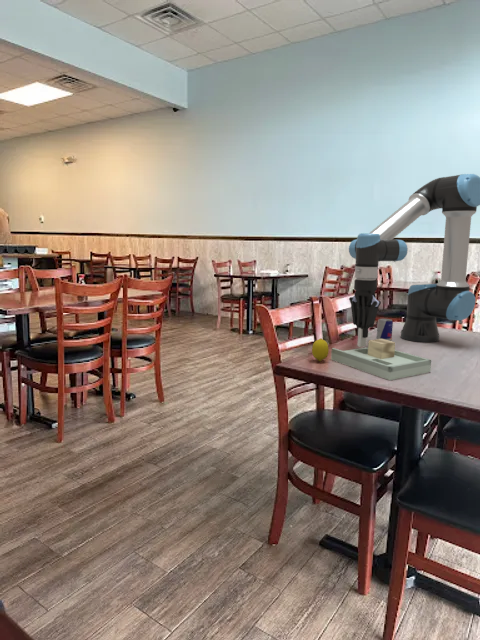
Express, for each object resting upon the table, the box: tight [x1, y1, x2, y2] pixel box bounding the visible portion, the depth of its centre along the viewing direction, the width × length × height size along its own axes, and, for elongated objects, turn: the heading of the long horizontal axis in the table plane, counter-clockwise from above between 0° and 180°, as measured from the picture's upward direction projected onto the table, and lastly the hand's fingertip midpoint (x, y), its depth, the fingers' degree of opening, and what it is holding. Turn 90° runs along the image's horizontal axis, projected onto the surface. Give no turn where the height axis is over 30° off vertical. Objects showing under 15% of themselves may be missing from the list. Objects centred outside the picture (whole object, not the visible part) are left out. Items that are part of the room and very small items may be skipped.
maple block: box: [367, 338, 396, 359], centre depth 150 cm, size 6×6×5 cm
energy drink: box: [375, 318, 394, 342], centre depth 165 cm, size 5×5×12 cm
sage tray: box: [330, 346, 432, 381], centre depth 147 cm, size 18×26×4 cm
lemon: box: [311, 338, 330, 362], centre depth 151 cm, size 6×6×8 cm
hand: (361, 345), depth 158 cm, fingers closed
